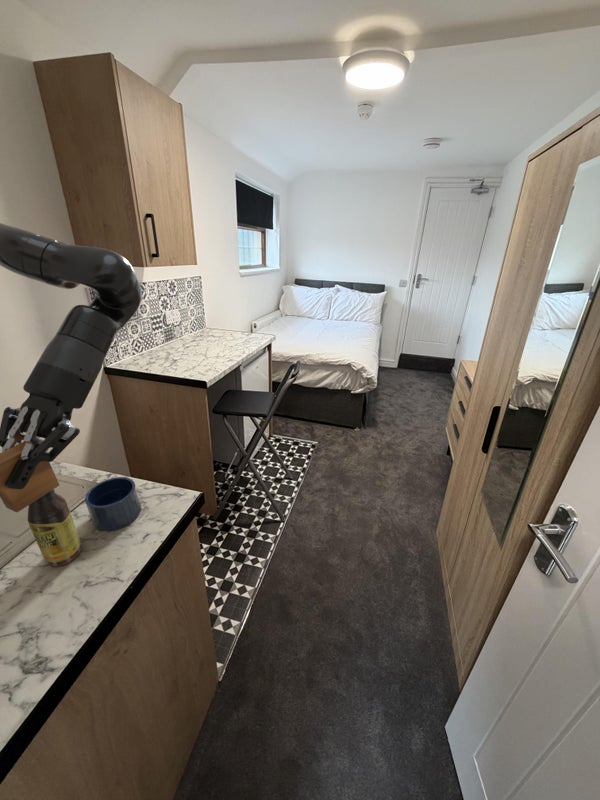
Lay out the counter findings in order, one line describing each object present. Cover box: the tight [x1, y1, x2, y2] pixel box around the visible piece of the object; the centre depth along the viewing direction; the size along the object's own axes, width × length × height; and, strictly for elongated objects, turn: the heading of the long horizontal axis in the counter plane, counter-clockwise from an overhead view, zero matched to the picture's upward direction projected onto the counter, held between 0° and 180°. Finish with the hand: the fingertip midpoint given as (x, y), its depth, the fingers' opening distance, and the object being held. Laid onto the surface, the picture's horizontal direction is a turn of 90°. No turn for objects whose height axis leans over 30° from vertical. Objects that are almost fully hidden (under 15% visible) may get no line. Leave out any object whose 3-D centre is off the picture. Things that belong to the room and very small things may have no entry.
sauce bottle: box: [27, 489, 82, 567], centre depth 62 cm, size 7×6×20 cm
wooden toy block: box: [0, 441, 60, 513], centre depth 46 cm, size 2×6×8 cm, turn 158°
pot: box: [84, 476, 142, 532], centre depth 75 cm, size 10×10×7 cm
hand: (6, 484), depth 44 cm, fingers closed on wooden toy block, 2 cm apart
